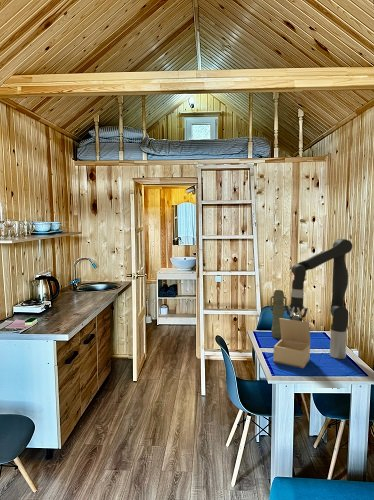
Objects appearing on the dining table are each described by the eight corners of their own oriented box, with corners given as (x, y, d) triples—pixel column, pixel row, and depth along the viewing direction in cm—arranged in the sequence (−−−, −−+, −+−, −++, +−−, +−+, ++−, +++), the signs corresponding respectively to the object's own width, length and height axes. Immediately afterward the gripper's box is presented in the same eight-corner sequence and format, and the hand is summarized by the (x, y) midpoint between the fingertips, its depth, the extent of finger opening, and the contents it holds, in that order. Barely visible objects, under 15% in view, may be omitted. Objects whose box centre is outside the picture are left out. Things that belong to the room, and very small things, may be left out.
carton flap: (310, 344, 227) (312, 336, 233) (308, 322, 221) (311, 315, 226) (281, 339, 236) (284, 332, 242) (279, 318, 230) (282, 312, 235)
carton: (309, 359, 228) (310, 344, 227) (303, 368, 214) (304, 351, 213) (280, 354, 237) (281, 339, 236) (273, 362, 223) (273, 346, 223)
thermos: (287, 338, 270) (288, 291, 268) (271, 338, 270) (272, 291, 267) (283, 334, 279) (285, 289, 277) (268, 334, 279) (269, 289, 276)
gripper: (310, 296, 230) (308, 323, 230) (287, 294, 237) (286, 320, 238) (307, 298, 223) (306, 326, 224) (284, 295, 230) (283, 322, 231)
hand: (295, 322), depth 231 cm, fingers closed on carton flap, 4 cm apart
